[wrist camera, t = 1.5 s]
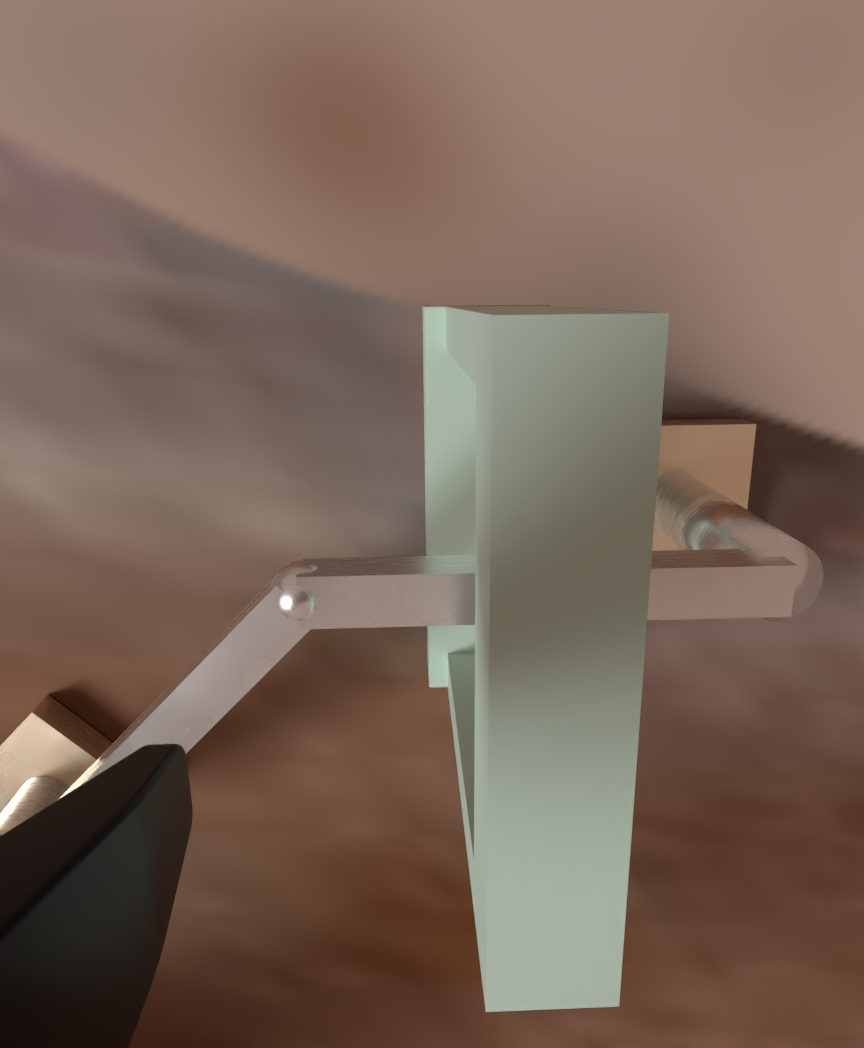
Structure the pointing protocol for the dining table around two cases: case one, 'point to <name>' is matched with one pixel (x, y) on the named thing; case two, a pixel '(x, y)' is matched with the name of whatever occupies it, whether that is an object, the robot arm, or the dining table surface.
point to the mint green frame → (545, 623)
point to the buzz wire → (438, 610)
